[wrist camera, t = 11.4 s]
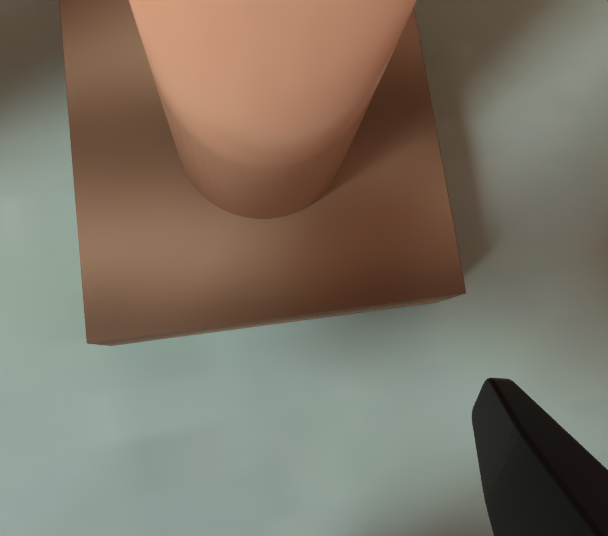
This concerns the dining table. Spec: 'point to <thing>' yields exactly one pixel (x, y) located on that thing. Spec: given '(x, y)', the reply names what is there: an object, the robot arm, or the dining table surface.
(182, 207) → the walnut plinth
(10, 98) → the dining table surface
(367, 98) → the terracotta cylinder
